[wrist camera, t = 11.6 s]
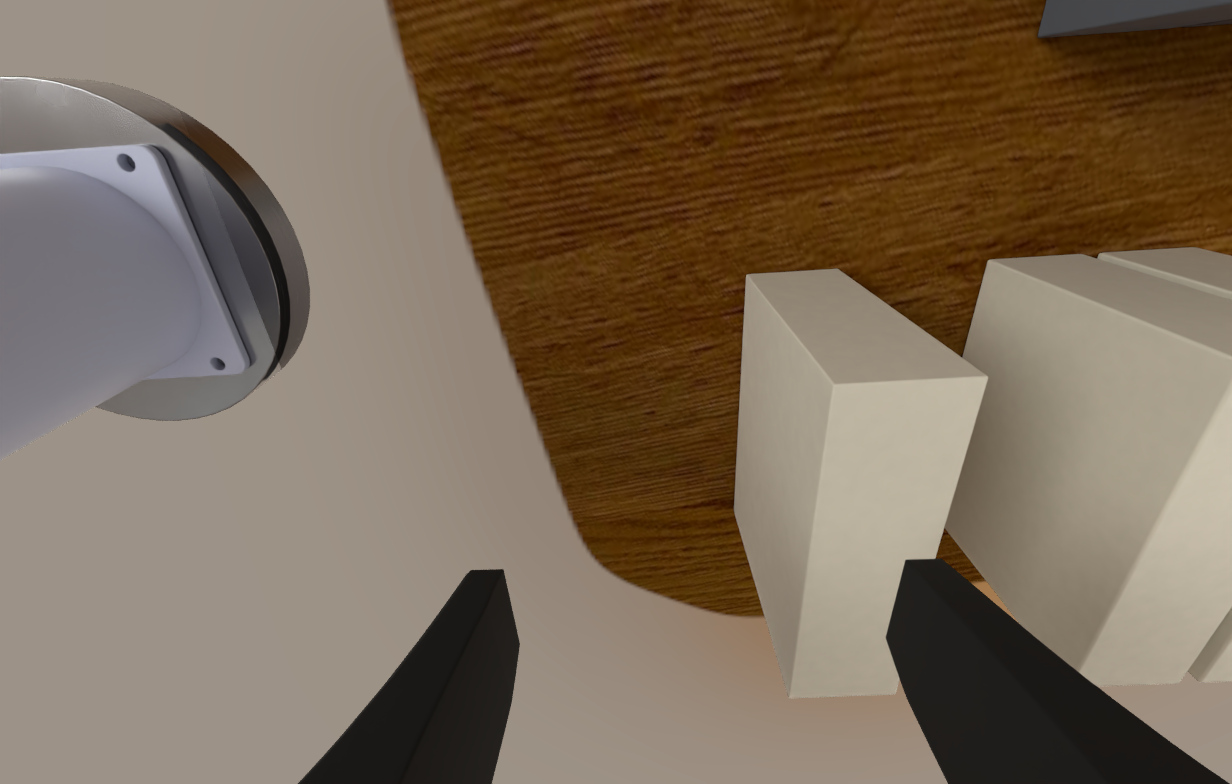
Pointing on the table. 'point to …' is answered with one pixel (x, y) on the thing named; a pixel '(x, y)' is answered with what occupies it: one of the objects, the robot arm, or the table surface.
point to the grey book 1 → (1127, 15)
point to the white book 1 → (842, 469)
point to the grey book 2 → (1212, 23)
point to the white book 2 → (1101, 463)
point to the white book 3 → (1226, 277)
